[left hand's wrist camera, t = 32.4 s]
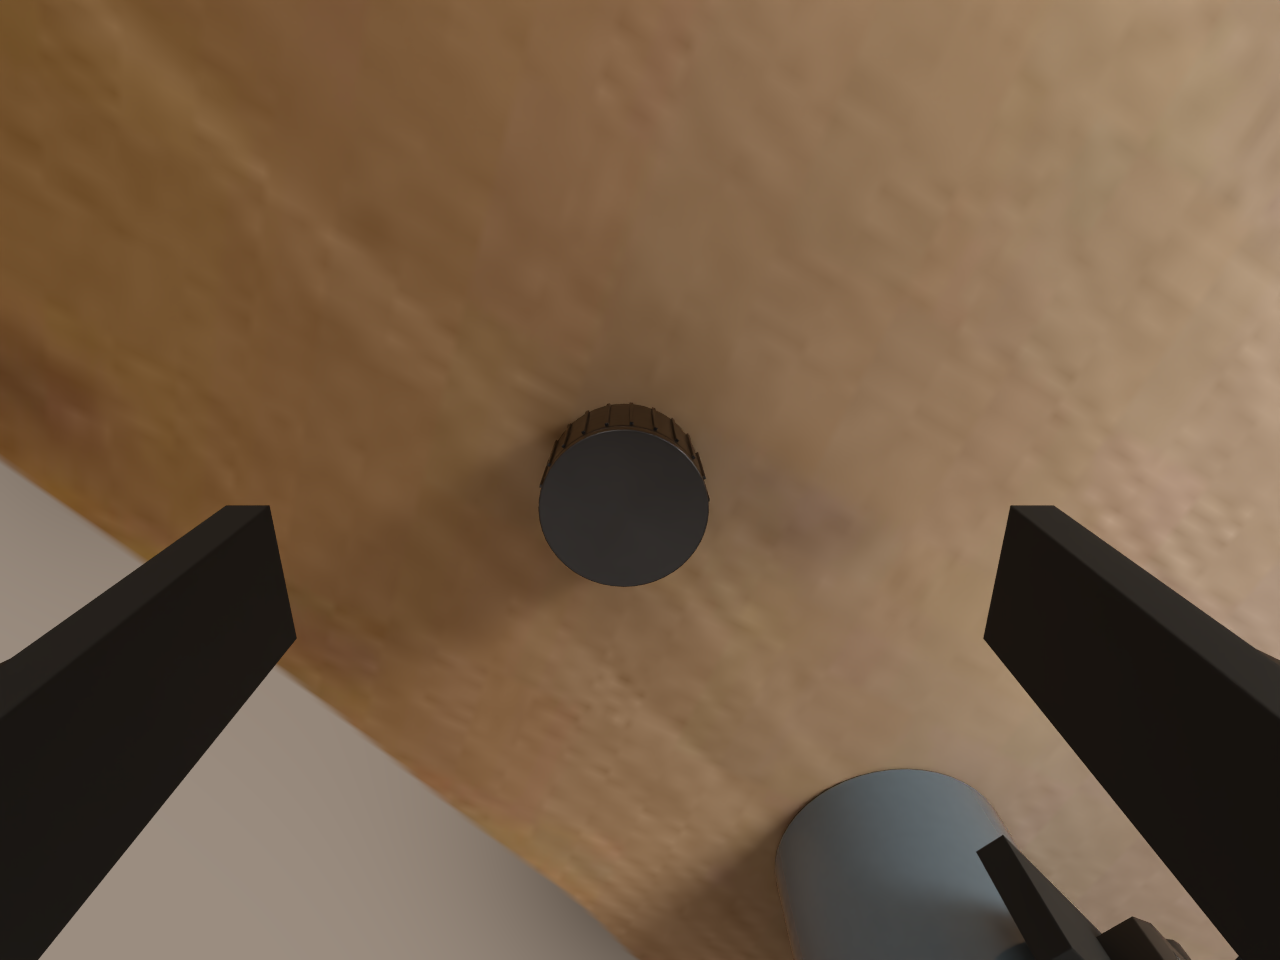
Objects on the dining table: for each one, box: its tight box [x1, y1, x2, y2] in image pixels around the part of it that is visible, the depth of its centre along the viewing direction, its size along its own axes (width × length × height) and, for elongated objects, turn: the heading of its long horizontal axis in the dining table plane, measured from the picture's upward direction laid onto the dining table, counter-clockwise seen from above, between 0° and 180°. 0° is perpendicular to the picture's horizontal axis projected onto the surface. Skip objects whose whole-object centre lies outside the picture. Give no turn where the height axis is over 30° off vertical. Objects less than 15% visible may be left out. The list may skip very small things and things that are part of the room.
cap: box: [539, 403, 709, 587], centre depth 18 cm, size 4×4×2 cm
